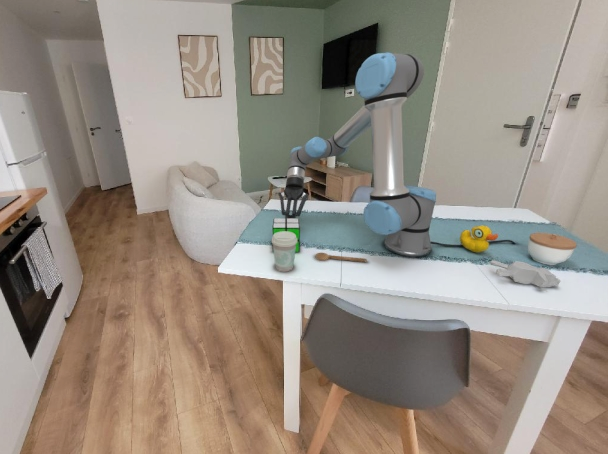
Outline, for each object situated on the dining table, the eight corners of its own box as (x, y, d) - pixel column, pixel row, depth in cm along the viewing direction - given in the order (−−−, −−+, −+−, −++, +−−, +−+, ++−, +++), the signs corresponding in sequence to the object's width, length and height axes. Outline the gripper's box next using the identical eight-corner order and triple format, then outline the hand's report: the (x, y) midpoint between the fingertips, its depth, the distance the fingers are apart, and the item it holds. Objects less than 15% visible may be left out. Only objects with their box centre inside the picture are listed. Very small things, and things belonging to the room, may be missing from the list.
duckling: (496, 257, 99) (505, 230, 95) (484, 259, 98) (493, 232, 94) (464, 243, 109) (471, 218, 106) (453, 245, 108) (460, 221, 104)
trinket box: (558, 255, 98) (569, 230, 95) (574, 271, 89) (587, 244, 86) (517, 250, 103) (526, 226, 99) (529, 265, 94) (539, 239, 90)
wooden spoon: (366, 259, 102) (366, 256, 102) (367, 265, 98) (367, 262, 98) (316, 254, 107) (316, 251, 107) (315, 260, 103) (315, 257, 103)
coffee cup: (266, 268, 99) (266, 236, 95) (281, 258, 105) (281, 228, 100) (287, 276, 94) (287, 243, 89) (301, 266, 100) (302, 234, 95)
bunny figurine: (569, 281, 78) (503, 267, 83) (559, 296, 80) (495, 282, 85) (551, 264, 86) (491, 252, 91) (542, 278, 88) (484, 266, 93)
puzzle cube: (298, 241, 118) (298, 218, 114) (299, 252, 109) (300, 228, 105) (273, 240, 119) (273, 218, 115) (272, 252, 110) (272, 228, 106)
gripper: (311, 185, 127) (305, 235, 119) (281, 184, 131) (273, 232, 123) (310, 176, 121) (304, 228, 113) (279, 175, 124) (271, 226, 116)
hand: (288, 230), depth 118 cm, fingers closed
